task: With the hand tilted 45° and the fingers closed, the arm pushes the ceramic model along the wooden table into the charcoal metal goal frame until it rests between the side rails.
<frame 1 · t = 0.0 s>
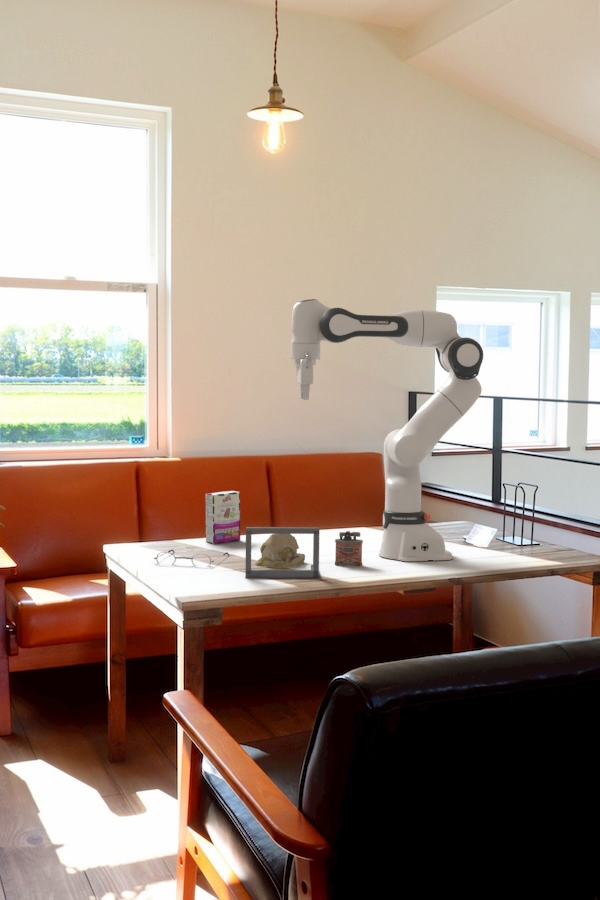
hand: (304, 399, 281), 48 cm above the table, tool pointing down, fingers open, 8 cm apart
goal: (281, 572, 261), on the table
ceramic model: (279, 564, 273), on the table
candy bar box: (222, 542, 308), on the table
lighter: (348, 565, 272), on the table
eyeglasses: (192, 561, 278), on the table
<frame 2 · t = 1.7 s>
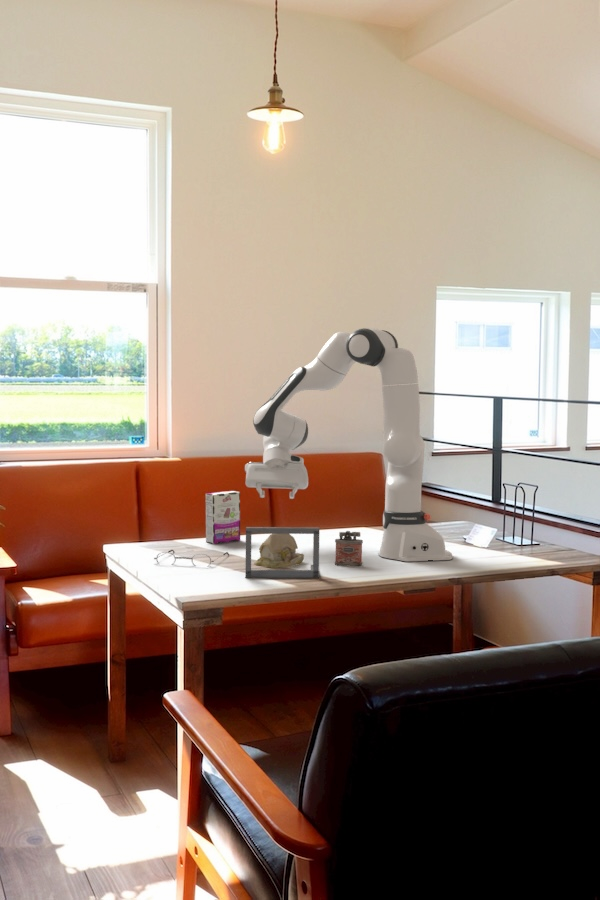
hand: (277, 497, 294), 17 cm above the table, tool tilted 45°, fingers open, 8 cm apart
nothing on the table moved.
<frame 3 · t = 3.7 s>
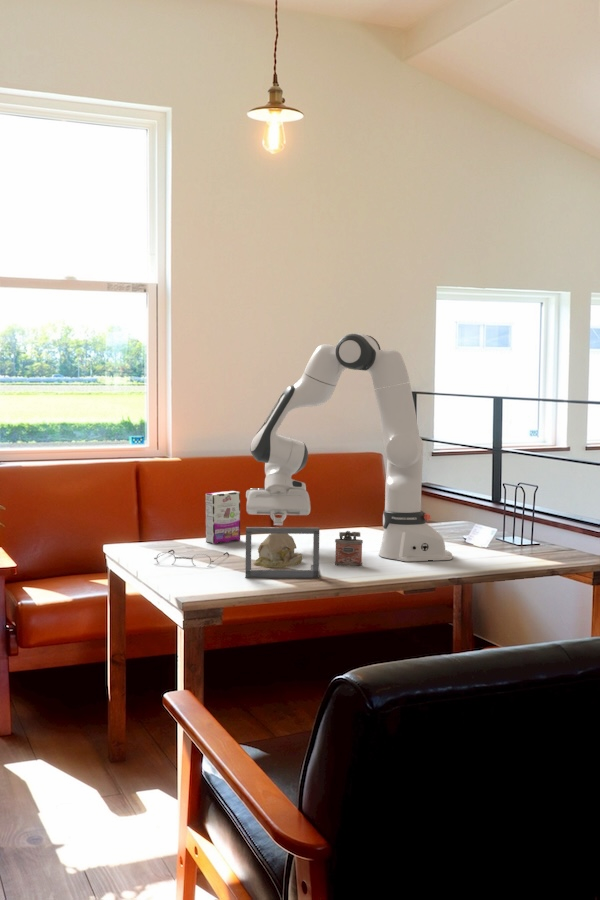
hand: (278, 524, 288), 9 cm above the table, tool tilted 45°, fingers closed
nothing on the table moved.
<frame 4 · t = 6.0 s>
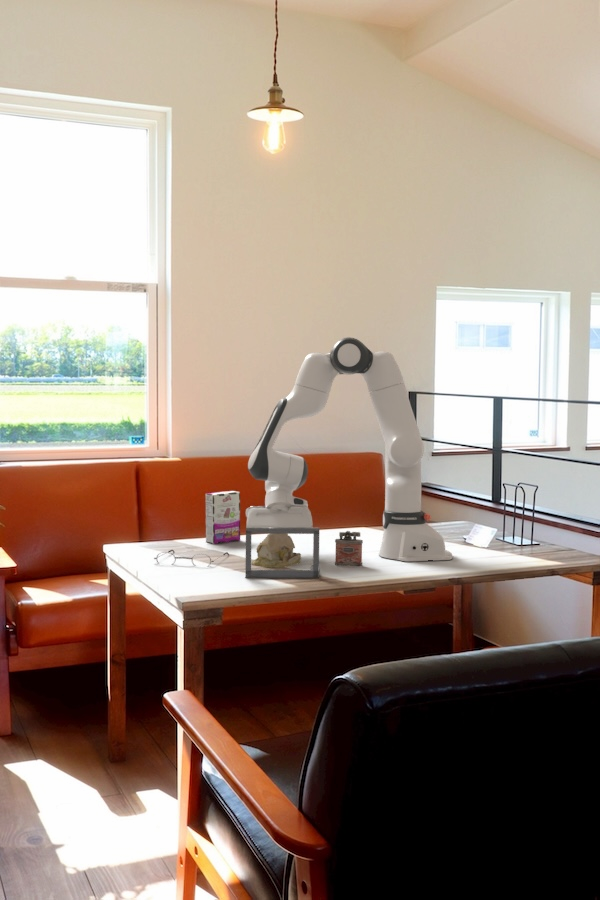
hand: (279, 543, 278), 5 cm above the table, tool tilted 45°, fingers closed
ceramic model: (276, 564, 273), on the table, touching gripper
everything else where it was.
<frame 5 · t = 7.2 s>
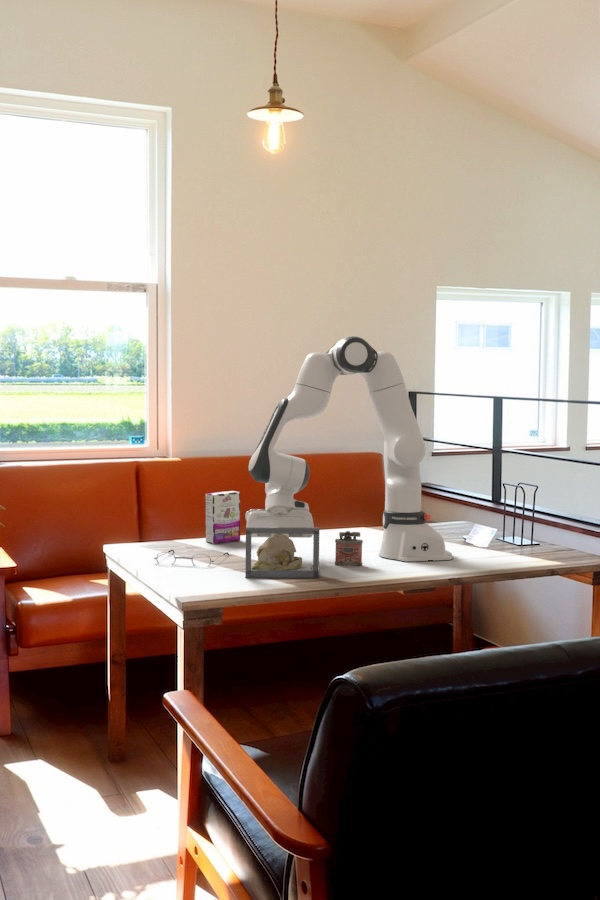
hand: (280, 547, 272), 5 cm above the table, tool tilted 45°, fingers closed
ceramic model: (276, 568, 267), on the table, touching gripper
everything else where it was.
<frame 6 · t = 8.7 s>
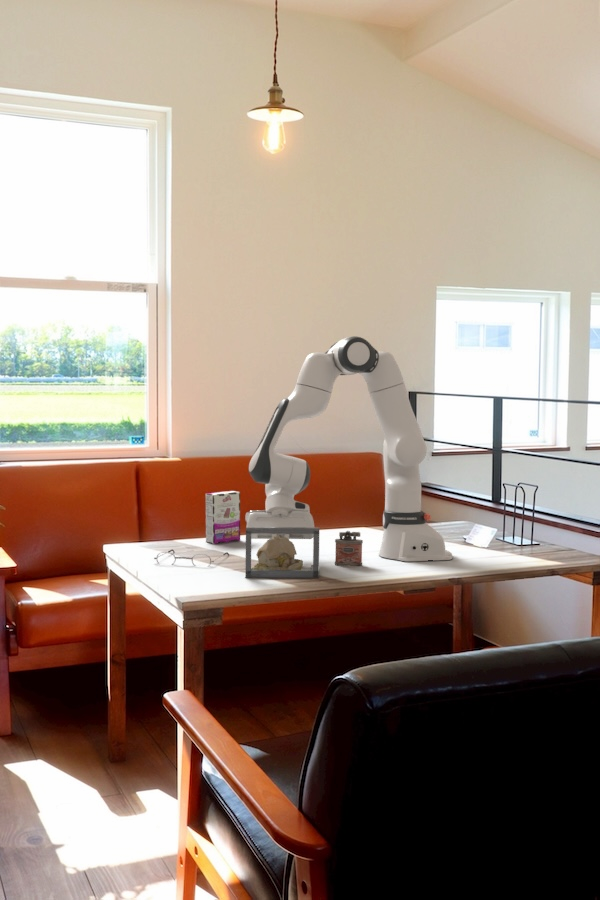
hand: (280, 549, 269), 5 cm above the table, tool tilted 45°, fingers closed
ceramic model: (276, 570, 264), on the table
everything else where it was.
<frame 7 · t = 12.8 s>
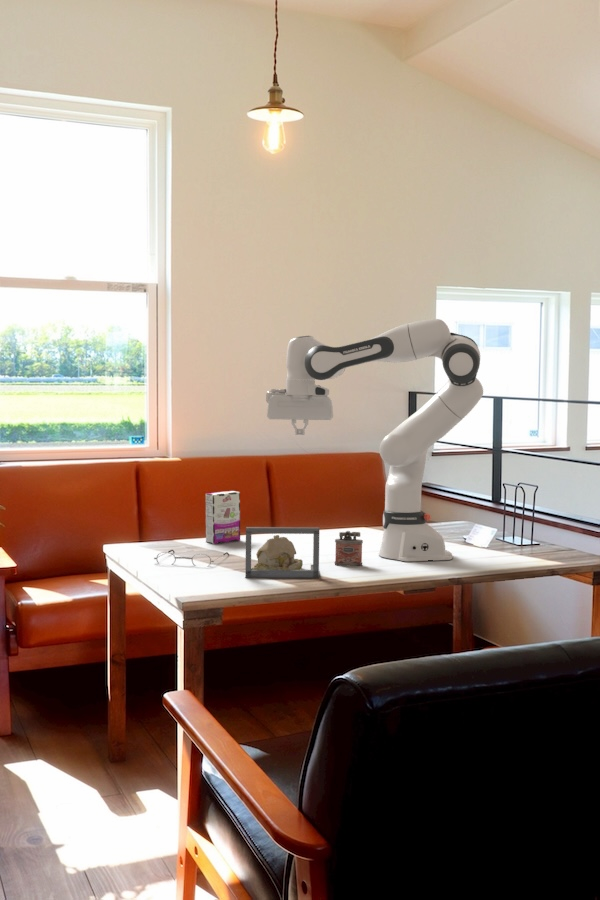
hand: (299, 434, 284), 37 cm above the table, tool pointing down, fingers closed
nothing on the table moved.
at the end: ceramic model inside the target area on the goal (1.9 cm from its centre), point 0.0 cm above the goal's base; ceramic model tilted 0°; the gripper is holding nothing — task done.
